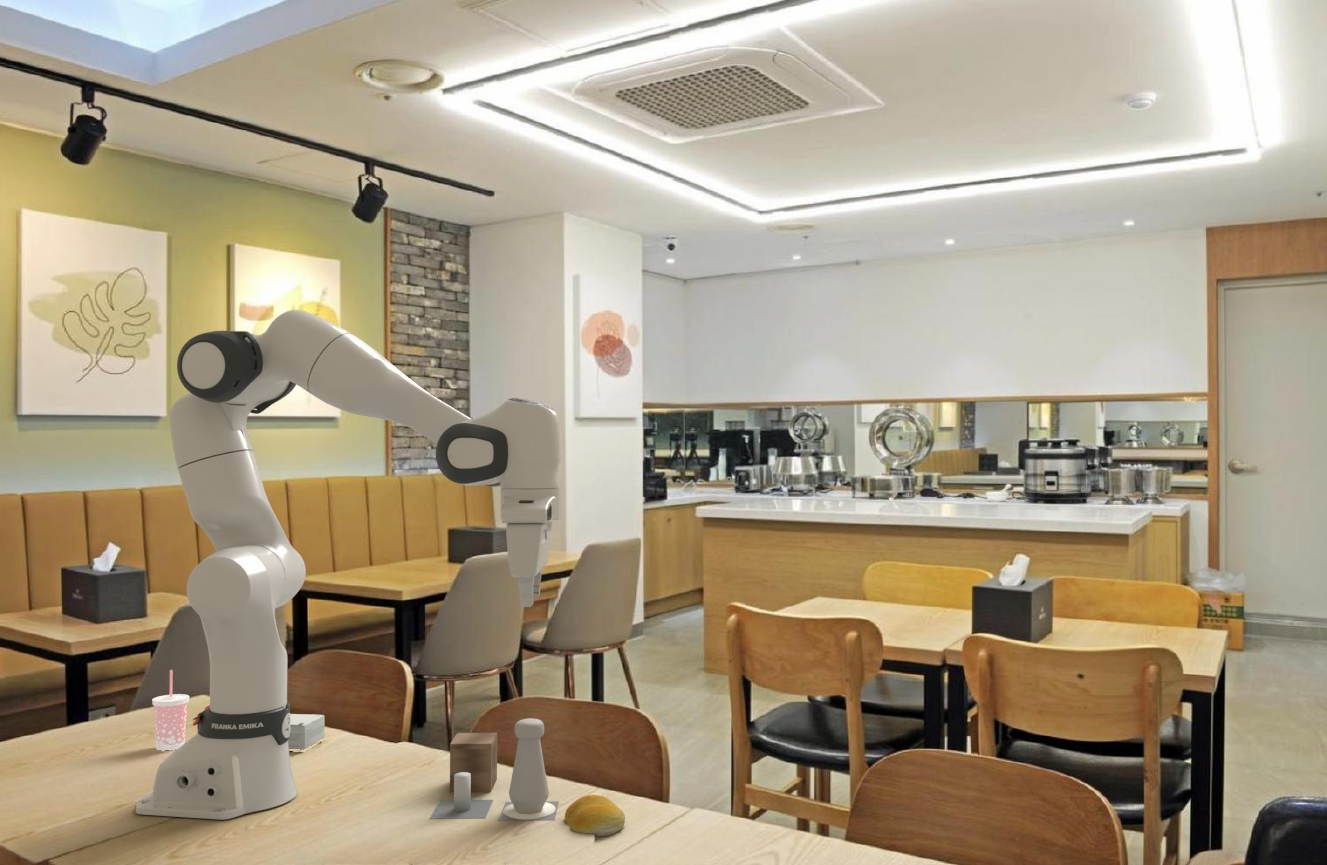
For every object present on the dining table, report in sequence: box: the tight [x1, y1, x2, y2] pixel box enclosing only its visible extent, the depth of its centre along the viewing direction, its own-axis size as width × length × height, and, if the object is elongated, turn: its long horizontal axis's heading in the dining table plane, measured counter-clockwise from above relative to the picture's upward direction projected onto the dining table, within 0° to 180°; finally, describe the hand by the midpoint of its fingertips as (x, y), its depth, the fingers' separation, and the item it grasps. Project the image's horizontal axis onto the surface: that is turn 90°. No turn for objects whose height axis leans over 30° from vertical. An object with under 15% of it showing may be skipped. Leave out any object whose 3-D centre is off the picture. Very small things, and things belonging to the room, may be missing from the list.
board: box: [429, 772, 494, 820], centre depth 150 cm, size 8×8×6 cm
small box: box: [288, 713, 326, 750], centre depth 185 cm, size 8×8×5 cm
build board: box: [498, 800, 560, 822], centre depth 149 cm, size 8×8×1 cm
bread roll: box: [564, 794, 626, 837], centre depth 145 cm, size 8×9×4 cm
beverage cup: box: [151, 669, 190, 752], centre depth 185 cm, size 6×6×14 cm
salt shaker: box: [508, 717, 550, 814], centre depth 149 cm, size 6×6×13 cm
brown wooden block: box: [449, 732, 498, 793], centre depth 161 cm, size 6×6×8 cm
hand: (530, 601), depth 150 cm, fingers open, 8 cm apart
